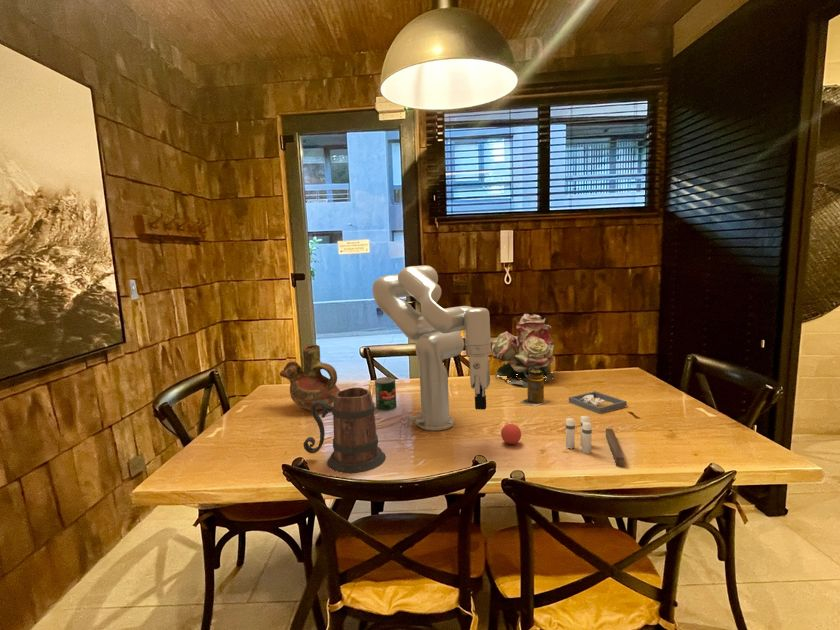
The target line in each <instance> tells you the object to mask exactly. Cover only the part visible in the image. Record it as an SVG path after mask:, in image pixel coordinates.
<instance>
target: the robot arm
mask: <svg viewBox="0 0 840 630" xmlns="http://www.w3.org/2000/svg"><path fill="white" fill-rule="evenodd" d="M438 282H439V276H438V273H437V270H436V269H435V268H434V267H432V266H430V265H412V266H411V265H410V266H406V267H404V268H402V269H401V270H400V271H399V272H398V274H386V275H383V276H380V277H378V278H376V279H375V281H374V282H373V284H372V288H371V289H372V296H373V300H374V302H375V304H376V305H377V306H378V308H379V310H381V311H382V312H383V313H384V314H385V315H386V316H388V317H389V319H391V320H392V322H393V323H394V325H396V326H397V327H398V329H399V330H400V332H402V333H403V335H404V336H405V337H406V338H407V339H409V340H410V341H413V342H414V341H415V347H414V348H415V354H416V357H417V361H418V369H419V386H420V388H419V389H420V391H419V393H420V410H419V411H418V414H416V415H414V416H413V415H412V416H408V418H407V421H408V423H409V424H411V423H415V424H416V425H417V426H418V427H419V428H420V429H423V430H426V431H435V432H436V431H443V430H447V429H449V428H451V427H454V425H455V420H454V418H453V417H452V416H450V403H449V402H450V399H449V376H448V375H449V374H448V370H447V367H446V366H445V365H444V363H443V361H444V360H447V359H450V358H453V357H456V356H457V357H458V355H460V354H461V353H463V350H464V348H465V356H468V357H469V378H470V379H469V380H470V388H471V389H473V390H474V408H475V410H481V411H482V410H483V411H485V410H486V409H487V395H486V390H487V389H488V388H489V386H490V384H491V372H490V371H491V370H490V360H489V356H490V355H491V354H492V347H491V346H492V342H491V323H490V322H491V320H490V319H491V318H490V311H489V309H488V308H485V307H473V306H469V305H460V306H453V307H447V308H443V307H441V306H440V305H439V304H438V301H439V300H440V298H441V296H442V288H441V285H439V284H438ZM406 297H412V298H414V299H415V300H416V301H417V302H418V303H420V312H419V311H417V310H416V309H414V307H413V306H412V305H411V304H410V303H408V302H407V301H405V300H404V299H402V298H406ZM460 331H462V332H463V331H464V338H463V336H462V334H461V333H460Z"/></svg>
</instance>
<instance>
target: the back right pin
mask: <svg viewBox="0 0 840 630" xmlns="http://www.w3.org/2000/svg"><path fill="white" fill-rule="evenodd" d="M592 427H593V425H592V423H591V422H590V423H589V422H583V426H582V445H581V446H582V447H581V450H582V453H583V454H585V453H587V454H586V455H590V454H589V453H591V454H592V432H593V428H592Z"/></svg>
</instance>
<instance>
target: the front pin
mask: <svg viewBox="0 0 840 630" xmlns="http://www.w3.org/2000/svg"><path fill="white" fill-rule="evenodd" d="M575 423H576V420H575V418H572V417H567V418H565V448H566V447H567V448H566V449H568V448H570V449H569V450H573V449H572V448H574V449H575V447H576V446H575V444H576V442H575V440H576V439H575V437H576V436H575V432H576V430H575V429H576V424H575Z"/></svg>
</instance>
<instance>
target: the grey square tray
mask: <svg viewBox="0 0 840 630" xmlns="http://www.w3.org/2000/svg"><path fill="white" fill-rule="evenodd" d="M586 395H594V398H596V397H597V398H596V399H598V398H600V400H602V399H603V400H607V401H606V402H608V401H610V402H609V403H611V402H612V403H611V404H607V405H602V406H595V405H594V404H592V403H590V402H589V403H586V402H583V401H580V399H582V398H583V397H584V396H586ZM627 402H628V401H626V400H624V399H621V398H618V397H614V396H611V395H607V394H604V393H601V392H599V391H596V390H595V391H590V392H586V393H582V394H577V395H572V396H568V403H570V404H572V405H575V406H576V407H577V406H578V407H580V408H583V409H585V410H588V411H591V412H593V413H596V414H599V415H601V414H604V412H605V413H607V411H609V412H611V410H612V411H615V409H616V410H619V409H618V408H620V409H623V408H622V407H624V408H626V407H625V406H627V407H628V405H627V404H628V403H627ZM600 413H601V414H600Z"/></svg>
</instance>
